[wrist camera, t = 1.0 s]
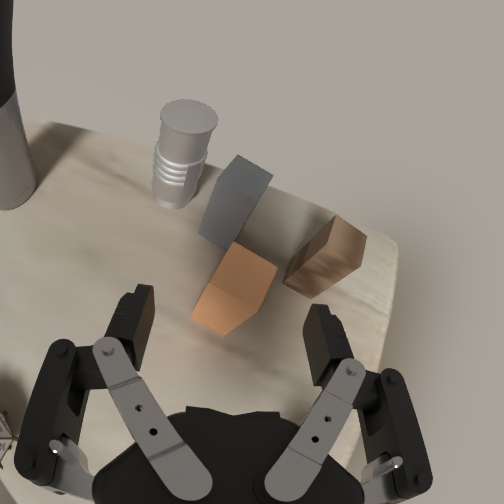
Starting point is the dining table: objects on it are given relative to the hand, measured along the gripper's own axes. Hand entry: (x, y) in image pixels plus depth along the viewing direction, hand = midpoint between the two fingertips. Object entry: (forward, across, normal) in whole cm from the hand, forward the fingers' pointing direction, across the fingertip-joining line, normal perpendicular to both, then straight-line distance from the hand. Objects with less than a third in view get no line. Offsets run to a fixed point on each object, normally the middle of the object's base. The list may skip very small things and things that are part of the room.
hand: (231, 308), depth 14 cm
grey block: (+27, +1, +10) cm, 29 cm away
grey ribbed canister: (+30, +9, +7) cm, 32 cm away
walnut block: (+24, -12, +14) cm, 30 cm away
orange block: (+16, 0, +16) cm, 23 cm away
